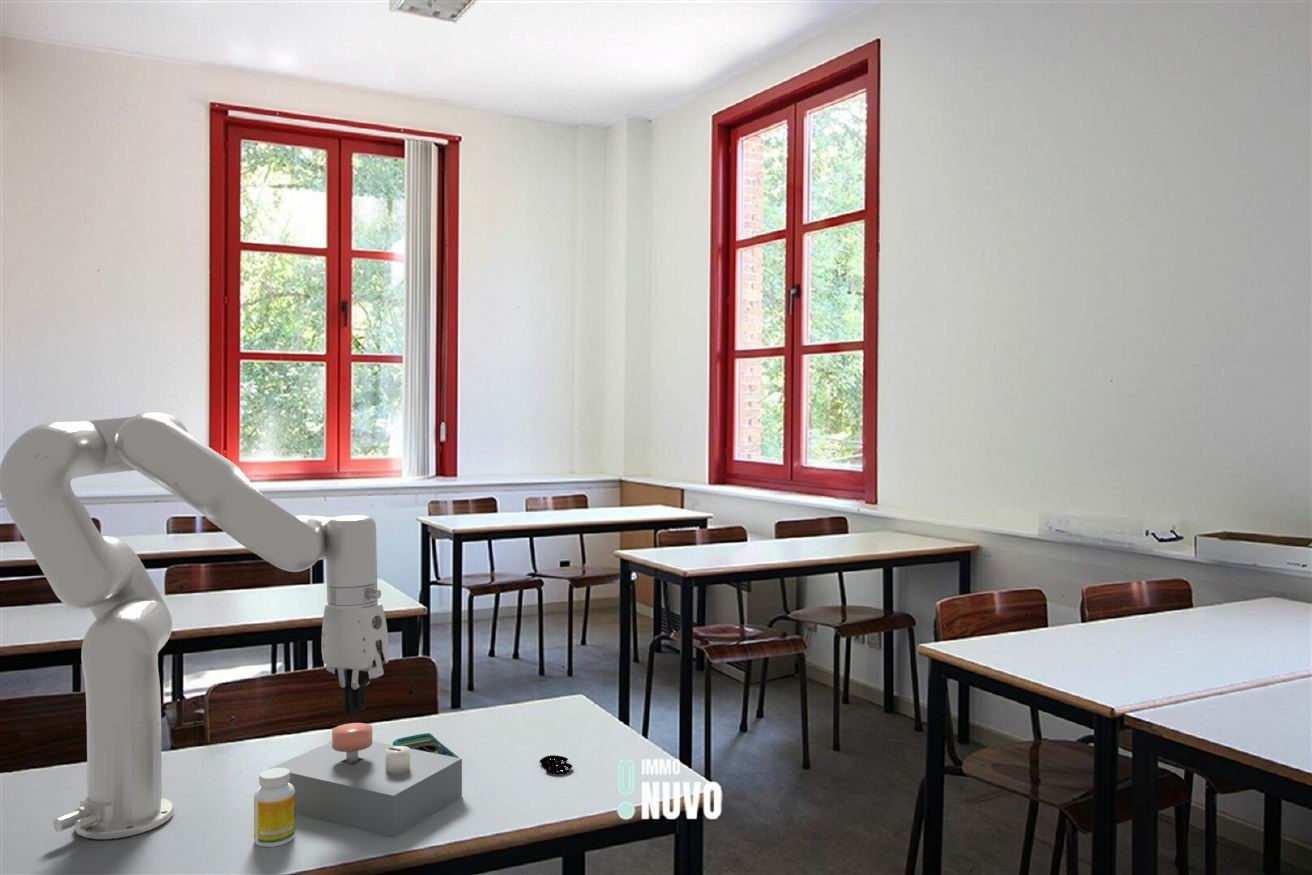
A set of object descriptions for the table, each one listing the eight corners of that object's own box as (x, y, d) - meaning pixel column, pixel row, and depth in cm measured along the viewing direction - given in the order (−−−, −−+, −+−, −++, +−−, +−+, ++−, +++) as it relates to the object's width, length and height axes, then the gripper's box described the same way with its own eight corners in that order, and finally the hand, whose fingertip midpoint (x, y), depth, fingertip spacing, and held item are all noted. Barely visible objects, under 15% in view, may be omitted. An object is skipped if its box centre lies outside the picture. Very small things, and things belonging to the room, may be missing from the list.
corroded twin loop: (547, 779, 157) (547, 773, 157) (536, 762, 164) (535, 756, 164) (576, 775, 158) (576, 769, 158) (563, 758, 166) (563, 752, 166)
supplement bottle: (247, 839, 133) (247, 772, 133) (284, 827, 137) (284, 762, 137) (264, 852, 130) (264, 783, 129) (302, 839, 134) (301, 772, 133)
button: (353, 771, 144) (353, 737, 144) (323, 764, 146) (323, 732, 146) (380, 758, 149) (380, 726, 149) (351, 752, 152) (351, 720, 152)
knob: (399, 775, 142) (399, 754, 142) (380, 771, 143) (380, 750, 143) (414, 767, 145) (414, 746, 145) (396, 763, 146) (396, 743, 146)
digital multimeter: (419, 781, 156) (419, 763, 156) (391, 754, 168) (391, 737, 168) (461, 772, 160) (461, 755, 160) (431, 746, 172) (431, 730, 172)
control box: (393, 837, 134) (393, 795, 134) (270, 806, 145) (269, 767, 144) (461, 796, 149) (461, 758, 149) (345, 771, 159) (345, 735, 159)
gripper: (406, 594, 147) (409, 710, 148) (333, 587, 154) (336, 698, 154) (373, 603, 141) (375, 725, 141) (298, 596, 147) (301, 712, 147)
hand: (355, 711), depth 148 cm, fingers closed
